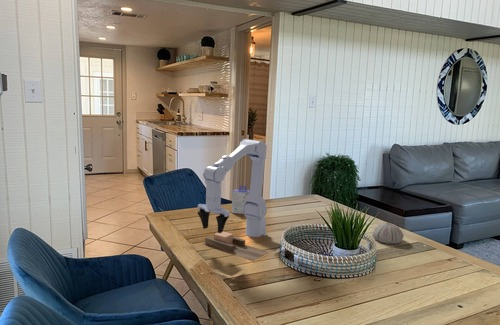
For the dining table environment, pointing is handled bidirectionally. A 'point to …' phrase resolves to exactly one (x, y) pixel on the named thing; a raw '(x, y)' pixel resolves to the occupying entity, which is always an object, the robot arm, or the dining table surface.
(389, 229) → the sea urchin shell
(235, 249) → the taupe railed channel
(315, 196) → the dining table surface
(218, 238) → the terracotta block
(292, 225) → the dining table surface
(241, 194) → the ink cartridge box
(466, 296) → the dining table surface
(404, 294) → the dining table surface
